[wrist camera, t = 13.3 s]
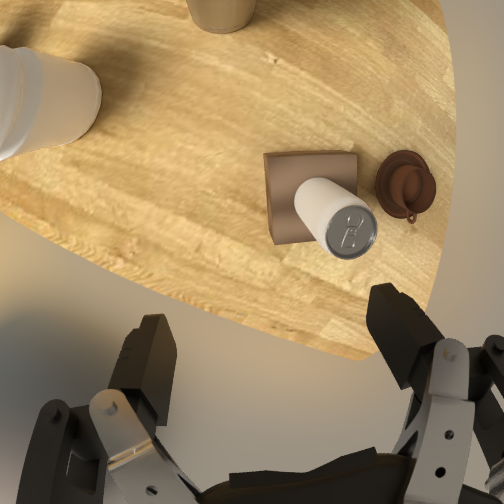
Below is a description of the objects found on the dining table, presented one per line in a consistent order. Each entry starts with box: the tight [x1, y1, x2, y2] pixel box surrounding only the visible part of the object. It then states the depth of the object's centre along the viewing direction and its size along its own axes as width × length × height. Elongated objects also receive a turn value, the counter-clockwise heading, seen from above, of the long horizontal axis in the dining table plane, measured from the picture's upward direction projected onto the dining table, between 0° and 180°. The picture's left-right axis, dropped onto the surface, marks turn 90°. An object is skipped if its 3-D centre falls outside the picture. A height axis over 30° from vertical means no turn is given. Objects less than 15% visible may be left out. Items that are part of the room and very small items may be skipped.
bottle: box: [0, 45, 102, 161], centre depth 19 cm, size 14×14×28 cm
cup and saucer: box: [376, 150, 436, 224], centre depth 39 cm, size 12×12×6 cm
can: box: [294, 177, 377, 260], centre depth 31 cm, size 6×6×12 cm
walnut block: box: [263, 150, 357, 245], centre depth 39 cm, size 12×12×6 cm
